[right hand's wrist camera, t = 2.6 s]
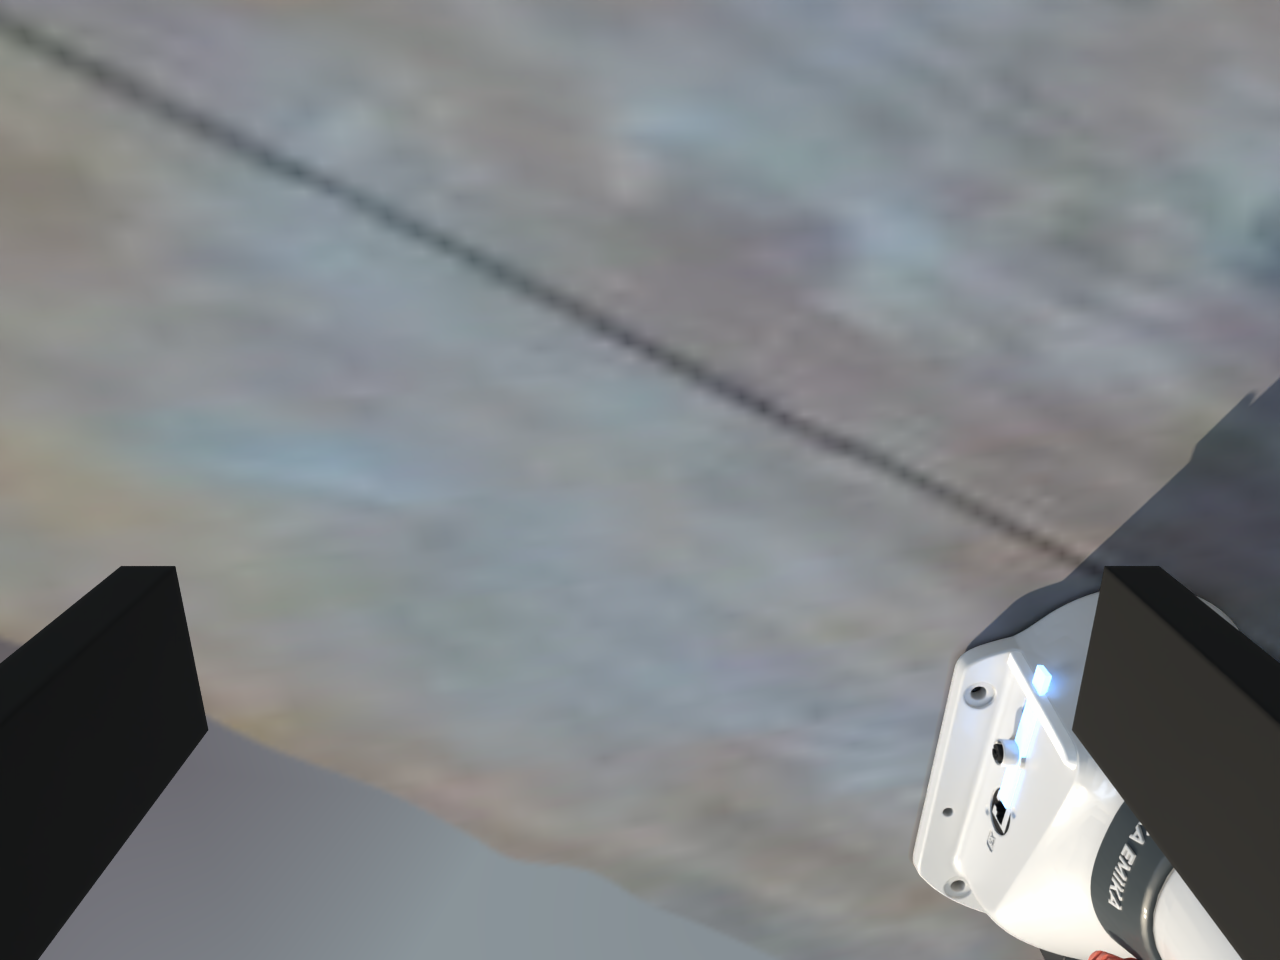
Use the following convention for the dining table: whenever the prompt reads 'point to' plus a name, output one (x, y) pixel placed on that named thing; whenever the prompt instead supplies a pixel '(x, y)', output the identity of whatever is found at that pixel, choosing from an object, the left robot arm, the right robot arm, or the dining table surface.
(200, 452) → the dining table surface
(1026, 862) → the left robot arm
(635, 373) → the dining table surface
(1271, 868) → the right robot arm
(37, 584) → the dining table surface
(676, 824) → the dining table surface
